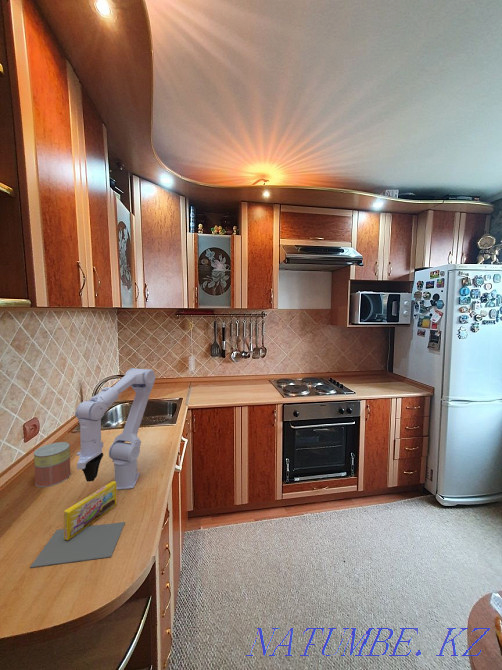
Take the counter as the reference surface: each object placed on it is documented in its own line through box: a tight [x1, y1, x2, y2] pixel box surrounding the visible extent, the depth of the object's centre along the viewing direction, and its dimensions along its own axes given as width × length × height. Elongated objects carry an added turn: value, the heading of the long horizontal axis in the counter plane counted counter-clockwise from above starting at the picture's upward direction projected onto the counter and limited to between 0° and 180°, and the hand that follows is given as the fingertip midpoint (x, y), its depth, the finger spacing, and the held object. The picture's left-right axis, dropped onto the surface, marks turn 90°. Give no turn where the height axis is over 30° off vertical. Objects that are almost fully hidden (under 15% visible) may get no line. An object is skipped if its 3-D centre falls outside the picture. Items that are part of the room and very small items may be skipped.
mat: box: [29, 521, 126, 569], centre depth 74 cm, size 12×19×1 cm, turn 99°
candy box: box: [63, 480, 117, 540], centre depth 82 cm, size 16×2×8 cm, turn 158°
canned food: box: [33, 441, 72, 488], centre depth 104 cm, size 11×11×12 cm
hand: (91, 479), depth 86 cm, fingers closed
